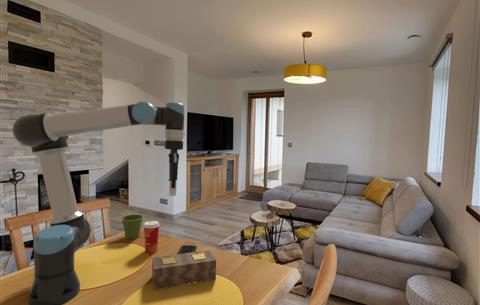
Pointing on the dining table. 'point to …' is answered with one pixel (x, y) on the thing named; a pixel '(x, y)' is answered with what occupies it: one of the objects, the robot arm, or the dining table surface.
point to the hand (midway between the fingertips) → (172, 195)
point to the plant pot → (132, 225)
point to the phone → (187, 249)
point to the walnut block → (183, 270)
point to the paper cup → (151, 236)
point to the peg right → (198, 256)
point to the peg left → (168, 261)
